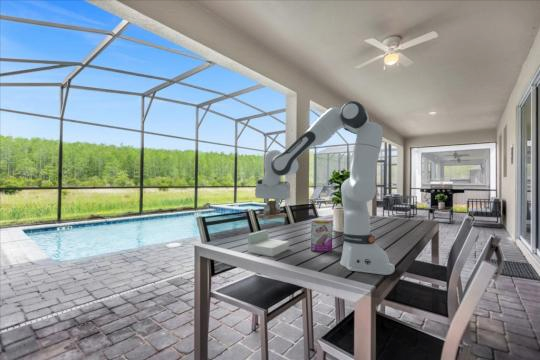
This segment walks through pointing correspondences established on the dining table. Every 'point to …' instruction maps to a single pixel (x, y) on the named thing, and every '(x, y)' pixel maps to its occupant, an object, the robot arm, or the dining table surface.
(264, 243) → the white l-shaped block
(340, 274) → the dining table surface
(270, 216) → the brown upright block stand
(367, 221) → the robot arm
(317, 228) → the candy bar box
